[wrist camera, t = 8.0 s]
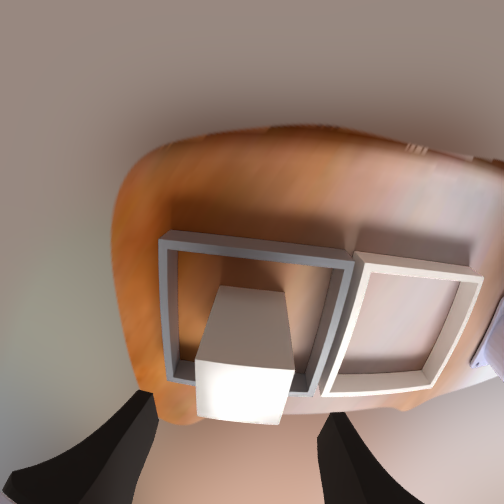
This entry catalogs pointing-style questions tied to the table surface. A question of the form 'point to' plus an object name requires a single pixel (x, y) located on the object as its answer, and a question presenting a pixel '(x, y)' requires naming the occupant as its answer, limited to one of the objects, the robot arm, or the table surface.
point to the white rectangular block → (245, 357)
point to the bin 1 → (260, 251)
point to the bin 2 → (363, 267)
